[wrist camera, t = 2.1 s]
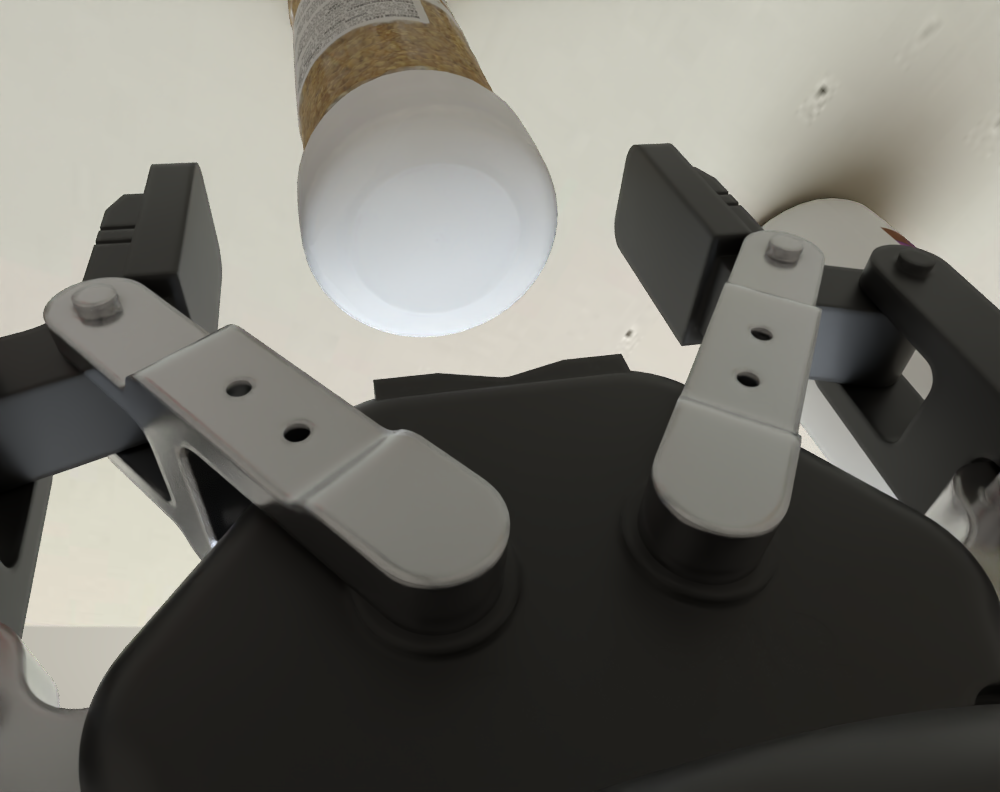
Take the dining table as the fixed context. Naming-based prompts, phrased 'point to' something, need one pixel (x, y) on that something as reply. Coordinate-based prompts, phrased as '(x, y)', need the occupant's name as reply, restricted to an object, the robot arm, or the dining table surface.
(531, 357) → the dining table surface
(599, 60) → the dining table surface
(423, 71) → the spice jar
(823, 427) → the milk bottle
